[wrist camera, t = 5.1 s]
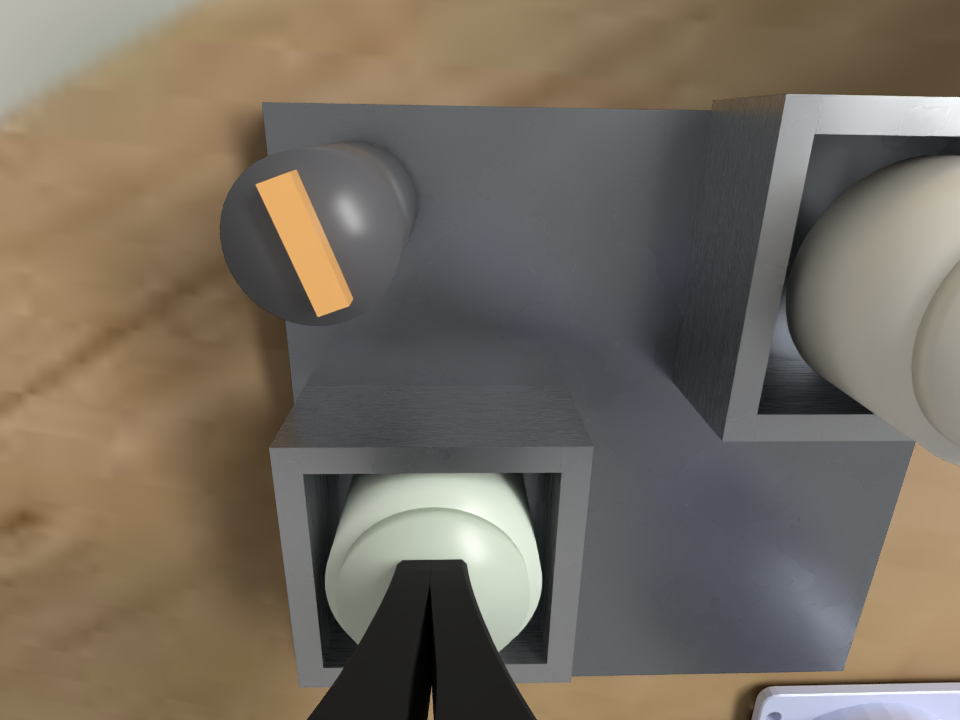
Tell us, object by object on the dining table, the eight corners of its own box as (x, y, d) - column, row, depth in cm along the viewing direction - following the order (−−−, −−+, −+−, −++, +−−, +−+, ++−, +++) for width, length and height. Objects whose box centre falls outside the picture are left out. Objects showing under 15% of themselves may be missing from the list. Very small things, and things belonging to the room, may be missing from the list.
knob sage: (523, 573, 17) (539, 679, 13) (353, 575, 16) (329, 684, 13) (531, 424, 15) (551, 505, 12) (342, 424, 15) (311, 507, 12)
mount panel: (824, 644, 20) (910, 766, 16) (330, 653, 19) (299, 783, 15) (983, 107, 14) (1179, 101, 10) (274, 93, 13) (203, 81, 9)
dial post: (434, 240, 13) (423, 301, 9) (326, 279, 14) (262, 357, 9) (389, 122, 12) (352, 121, 8) (275, 165, 13) (174, 189, 8)
